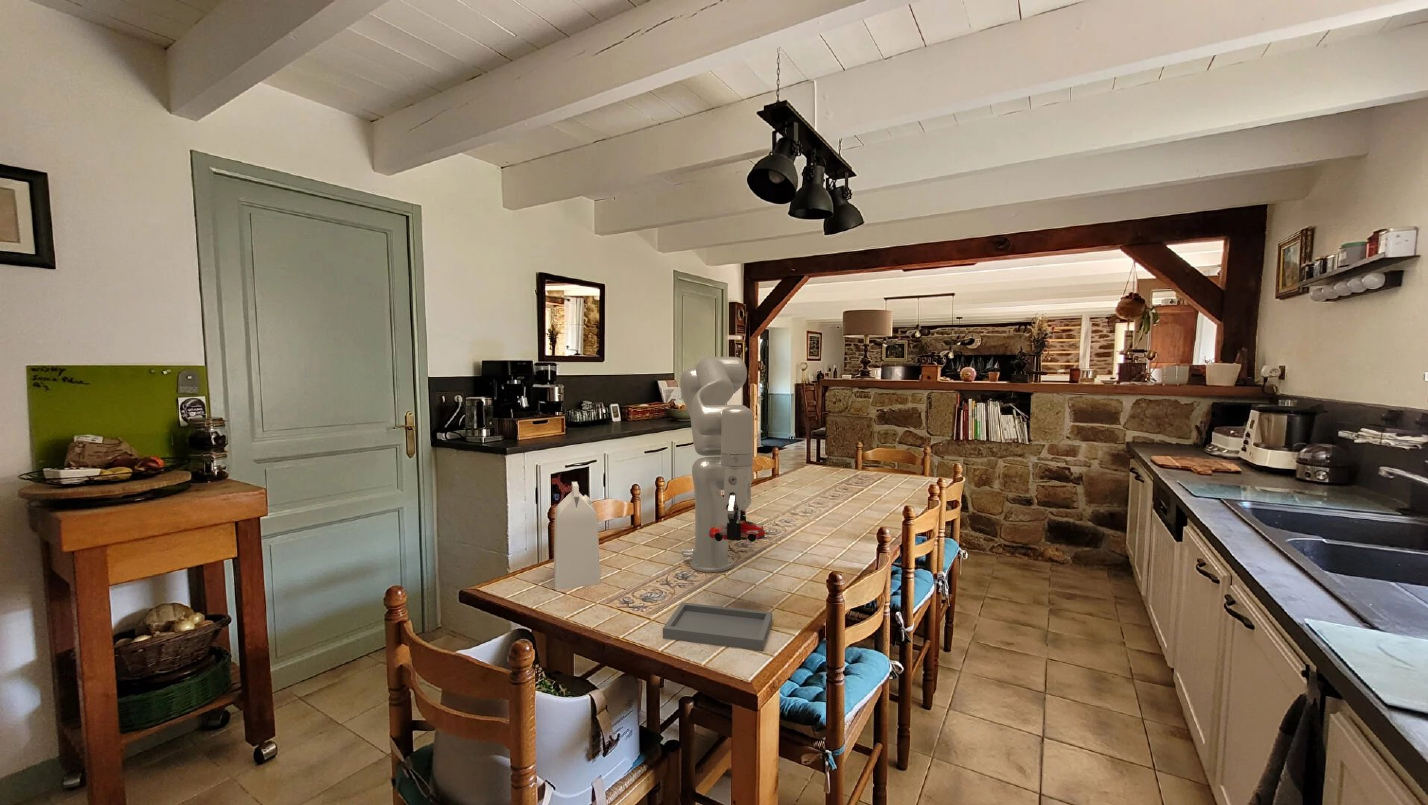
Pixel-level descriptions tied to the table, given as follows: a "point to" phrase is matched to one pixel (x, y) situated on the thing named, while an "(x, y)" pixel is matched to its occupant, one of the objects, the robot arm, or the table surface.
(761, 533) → the race car
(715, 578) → the table surface
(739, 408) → the robot arm
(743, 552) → the table surface
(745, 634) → the tray
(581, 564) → the milk
